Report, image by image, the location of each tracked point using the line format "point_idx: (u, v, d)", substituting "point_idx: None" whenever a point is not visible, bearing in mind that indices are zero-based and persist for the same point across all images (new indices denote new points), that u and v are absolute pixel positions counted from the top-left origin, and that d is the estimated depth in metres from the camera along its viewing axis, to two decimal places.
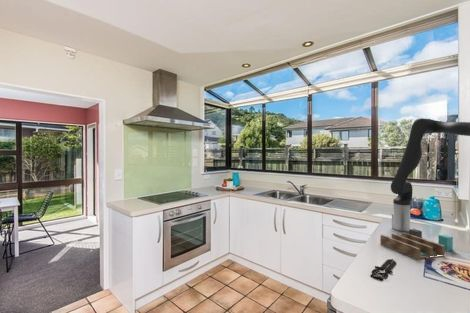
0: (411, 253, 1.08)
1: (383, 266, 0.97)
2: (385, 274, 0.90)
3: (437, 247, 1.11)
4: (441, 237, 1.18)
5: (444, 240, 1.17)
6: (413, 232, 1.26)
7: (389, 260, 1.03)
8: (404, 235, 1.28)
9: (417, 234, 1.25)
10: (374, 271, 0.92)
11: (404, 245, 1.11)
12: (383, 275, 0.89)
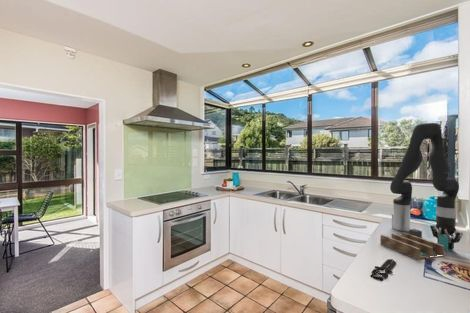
0: (411, 253, 1.08)
1: (383, 266, 0.97)
2: (385, 274, 0.90)
3: (437, 247, 1.11)
4: (441, 237, 1.18)
5: (444, 239, 1.17)
6: (413, 232, 1.26)
7: (389, 260, 1.03)
8: (404, 235, 1.28)
9: (417, 234, 1.25)
10: (374, 271, 0.92)
11: (404, 245, 1.11)
12: (383, 275, 0.89)
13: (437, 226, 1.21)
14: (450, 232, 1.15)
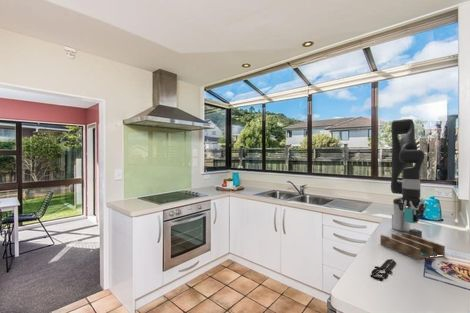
0: (411, 253, 1.08)
1: (383, 266, 0.97)
2: (385, 274, 0.90)
3: (437, 247, 1.11)
4: (406, 210, 1.16)
5: (409, 212, 1.15)
6: (413, 232, 1.26)
7: (389, 260, 1.03)
8: (404, 235, 1.28)
9: (417, 234, 1.25)
10: (374, 271, 0.92)
11: (404, 245, 1.11)
12: (383, 275, 0.89)
13: (403, 199, 1.19)
14: (415, 204, 1.13)
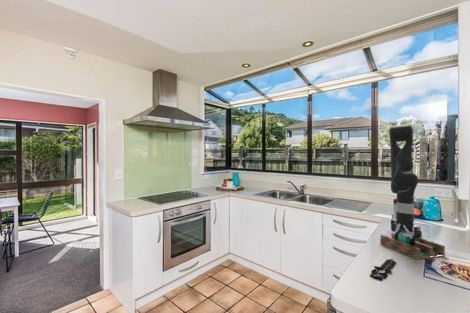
0: (411, 253, 1.08)
1: (383, 266, 0.97)
2: (385, 274, 0.90)
3: (437, 247, 1.11)
4: (400, 236, 1.16)
5: (403, 238, 1.15)
6: None
7: (389, 260, 1.03)
8: None
9: None
10: (374, 271, 0.92)
11: (404, 245, 1.11)
12: (383, 275, 0.89)
13: (397, 222, 1.19)
14: (409, 227, 1.13)
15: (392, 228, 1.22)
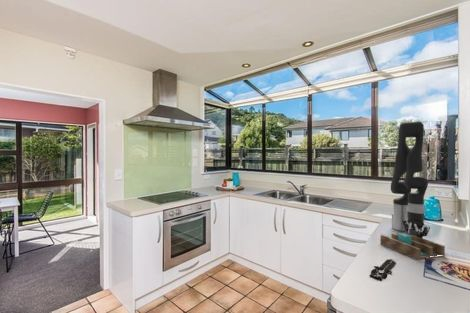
0: (411, 253, 1.08)
1: (382, 266, 0.97)
2: (384, 274, 0.90)
3: (437, 247, 1.11)
4: (400, 236, 1.16)
5: (403, 238, 1.15)
6: (413, 232, 1.26)
7: (388, 260, 1.03)
8: None
9: (417, 234, 1.25)
10: (373, 271, 0.92)
11: (404, 245, 1.11)
12: (382, 275, 0.89)
13: (408, 221, 1.30)
14: (419, 226, 1.24)
15: (406, 228, 1.31)
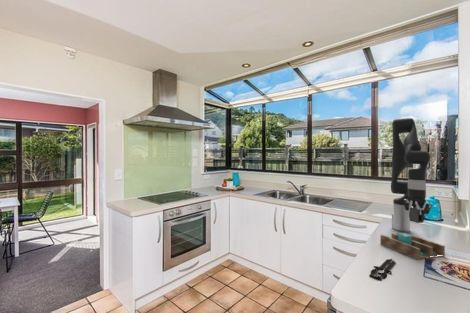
0: (411, 253, 1.08)
1: (382, 266, 0.97)
2: (384, 274, 0.90)
3: (437, 247, 1.11)
4: (400, 236, 1.16)
5: (403, 238, 1.15)
6: (414, 210, 1.17)
7: (388, 260, 1.03)
8: None
9: (418, 212, 1.16)
10: (373, 271, 0.92)
11: (404, 245, 1.11)
12: (382, 275, 0.89)
13: (409, 199, 1.21)
14: (420, 204, 1.15)
15: (406, 207, 1.22)
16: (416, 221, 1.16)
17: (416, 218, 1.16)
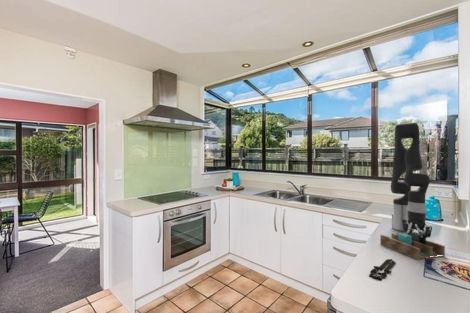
0: (411, 253, 1.08)
1: (382, 266, 0.97)
2: (384, 274, 0.90)
3: (437, 247, 1.11)
4: (400, 236, 1.16)
5: (403, 238, 1.15)
6: (414, 236, 1.17)
7: (388, 260, 1.03)
8: None
9: (418, 238, 1.16)
10: (373, 271, 0.92)
11: (404, 245, 1.11)
12: (382, 275, 0.89)
13: (408, 221, 1.21)
14: (420, 226, 1.15)
15: (404, 228, 1.23)
16: None
17: None
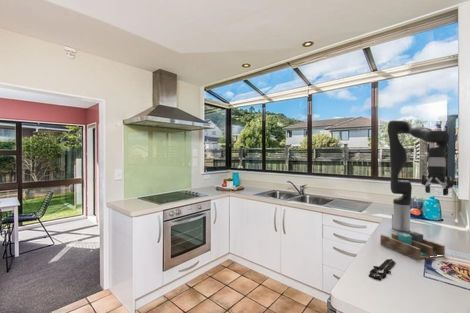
0: (411, 253, 1.08)
1: (382, 266, 0.97)
2: (383, 274, 0.90)
3: (437, 247, 1.11)
4: (400, 236, 1.16)
5: (403, 238, 1.15)
6: (414, 236, 1.17)
7: (388, 260, 1.03)
8: None
9: (418, 238, 1.16)
10: (372, 271, 0.92)
11: (404, 245, 1.11)
12: (381, 275, 0.89)
13: (429, 176, 1.29)
14: (441, 179, 1.23)
15: (422, 182, 1.32)
16: None
17: None
